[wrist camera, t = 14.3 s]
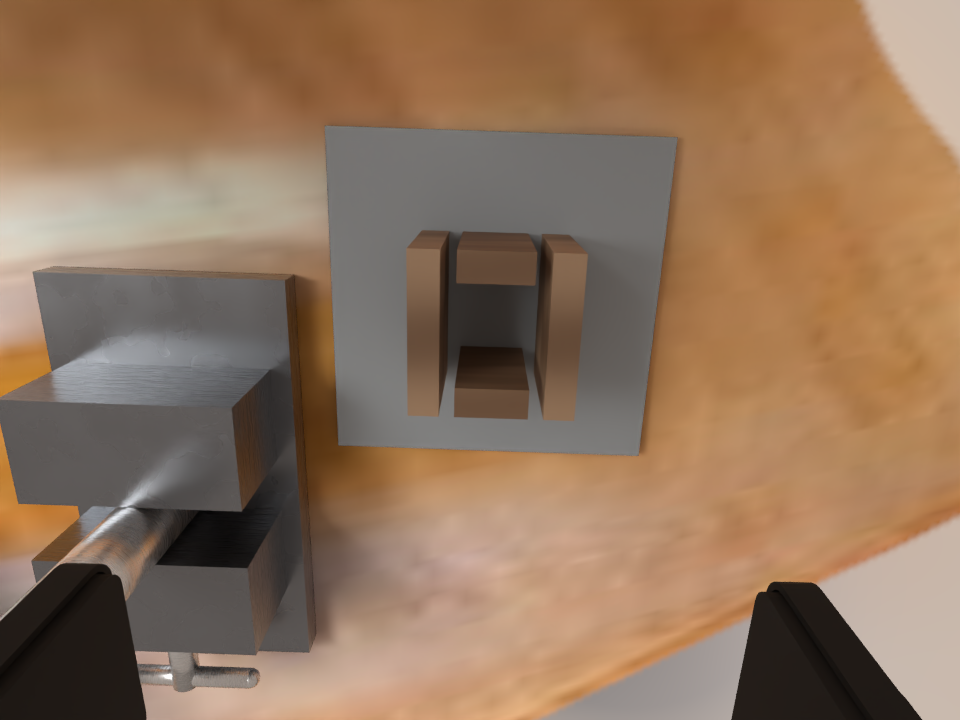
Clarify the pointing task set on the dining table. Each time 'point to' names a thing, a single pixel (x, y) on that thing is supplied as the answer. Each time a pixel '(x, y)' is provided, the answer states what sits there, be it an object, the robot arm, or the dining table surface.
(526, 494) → the dining table surface
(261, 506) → the vise
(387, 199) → the mat
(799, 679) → the robot arm
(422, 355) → the collar
